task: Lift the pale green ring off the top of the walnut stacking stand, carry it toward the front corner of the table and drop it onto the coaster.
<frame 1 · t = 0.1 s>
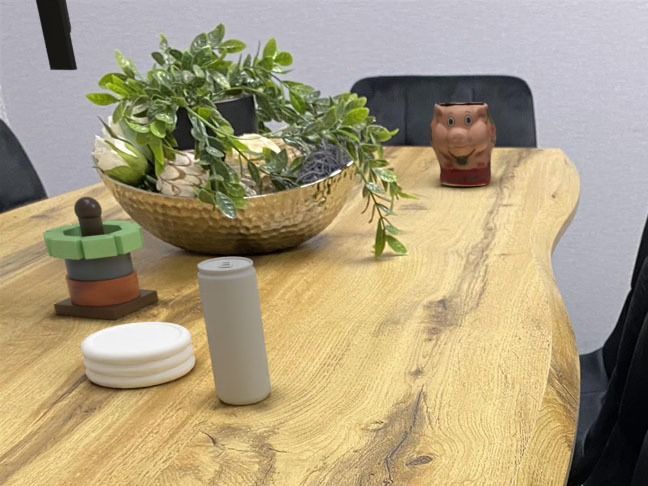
hand: (15, 75, 93), 25 cm above the table, tool pointing down, fingers open, 13 cm apart
green ring: (96, 248, 109), point 7 cm above the table, touching stacking stand
beverage can: (245, 398, 87), on the table
decorative planter: (464, 183, 180), on the table
coaster: (142, 373, 93), on the table
stacking stand: (108, 307, 112), on the table
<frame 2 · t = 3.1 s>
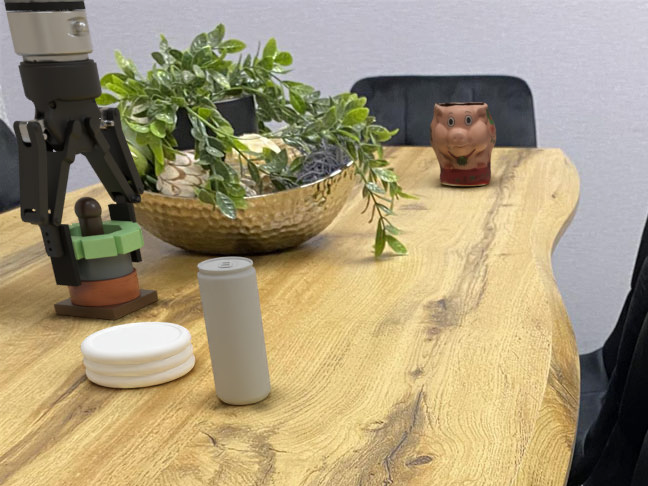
hand: (101, 272, 110), 4 cm above the table, tool pointing down, fingers closed on green ring, 10 cm apart
green ring: (95, 248, 109), point 7 cm above the table, touching gripper, stacking stand
everything else where it was.
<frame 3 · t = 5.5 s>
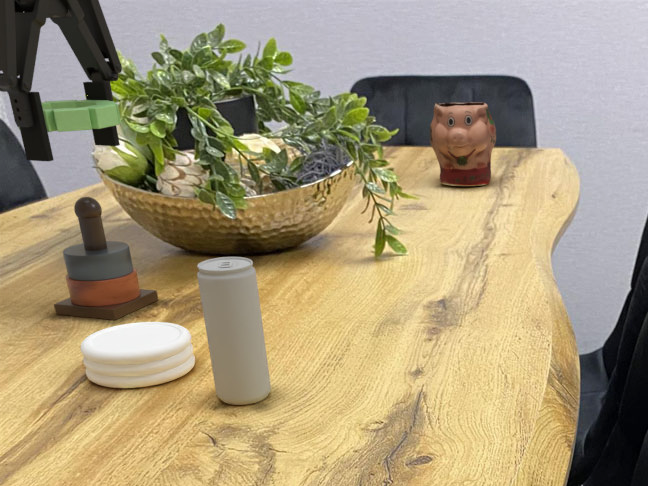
hand: (75, 152, 104), 17 cm above the table, tool pointing down, fingers closed on green ring, 10 cm apart
green ring: (69, 125, 102), point 20 cm above the table, touching gripper
everything else where it was.
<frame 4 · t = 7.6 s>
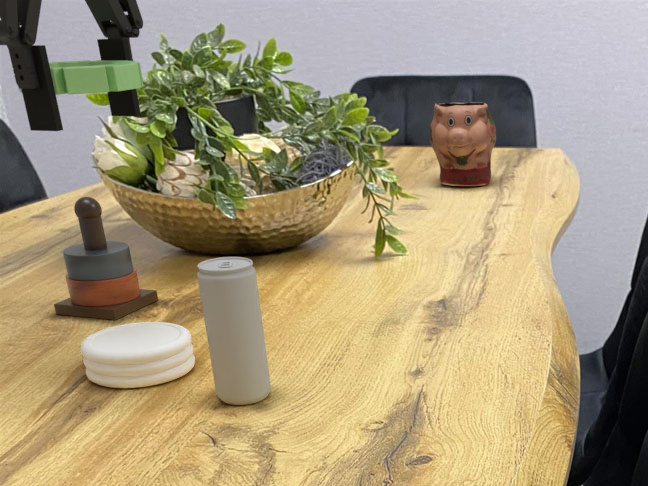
hand: (88, 122, 86), 22 cm above the table, tool pointing down, fingers closed on green ring, 10 cm apart
green ring: (82, 89, 85), point 25 cm above the table, touching gripper
everything else where it was.
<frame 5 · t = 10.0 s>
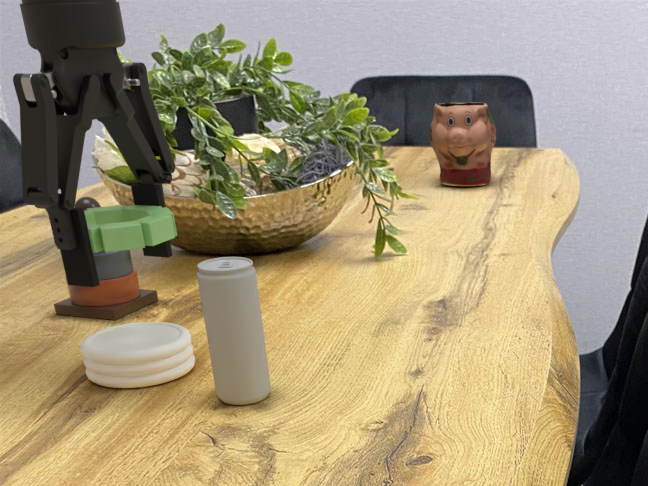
hand: (122, 269, 88), 10 cm above the table, tool pointing down, fingers closed on green ring, 10 cm apart
green ring: (117, 238, 87), point 13 cm above the table, touching gripper
everything else where it was.
when the fingers open (4 cm above the table, at t = 12.2 s): green ring drops 3 cm, resting on coaster.
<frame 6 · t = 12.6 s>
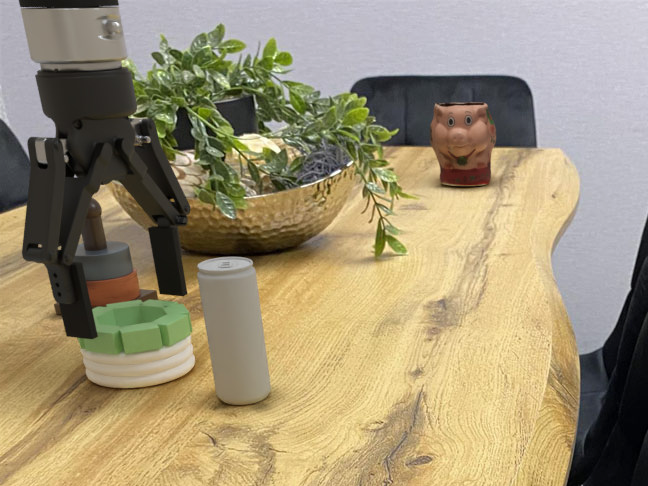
hand: (130, 314, 90), 6 cm above the table, tool pointing down, fingers open, 13 cm apart
green ring: (135, 335, 91), point 4 cm above the table, touching coaster
coaster: (142, 373, 93), on the table, touching green ring
everything else where it was.
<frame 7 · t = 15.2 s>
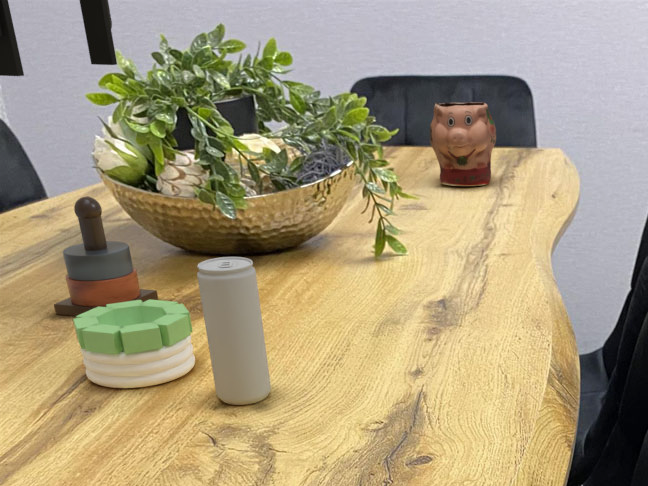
hand: (59, 70, 97), 25 cm above the table, tool pointing down, fingers open, 13 cm apart
nothing on the table moved.
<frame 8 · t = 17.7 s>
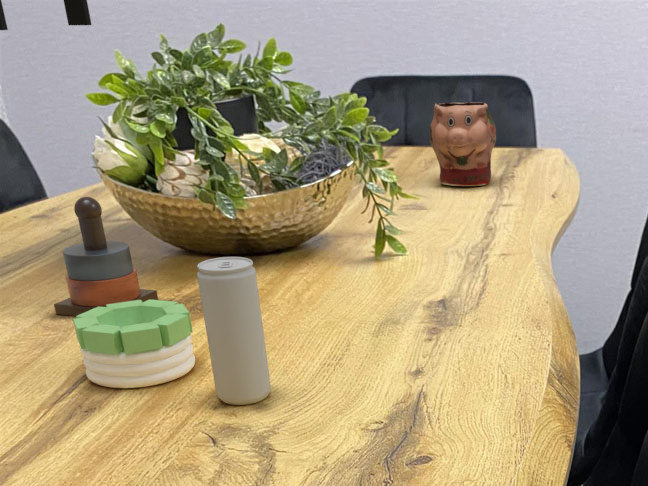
hand: (39, 28, 109), 29 cm above the table, tool pointing down, fingers open, 13 cm apart
nothing on the table moved.
at the end: green ring inside the target area on the coaster (0.0 cm from its centre), point 3.7 cm above the coaster's base; green ring point 3.5 cm above the table; the gripper is holding nothing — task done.
